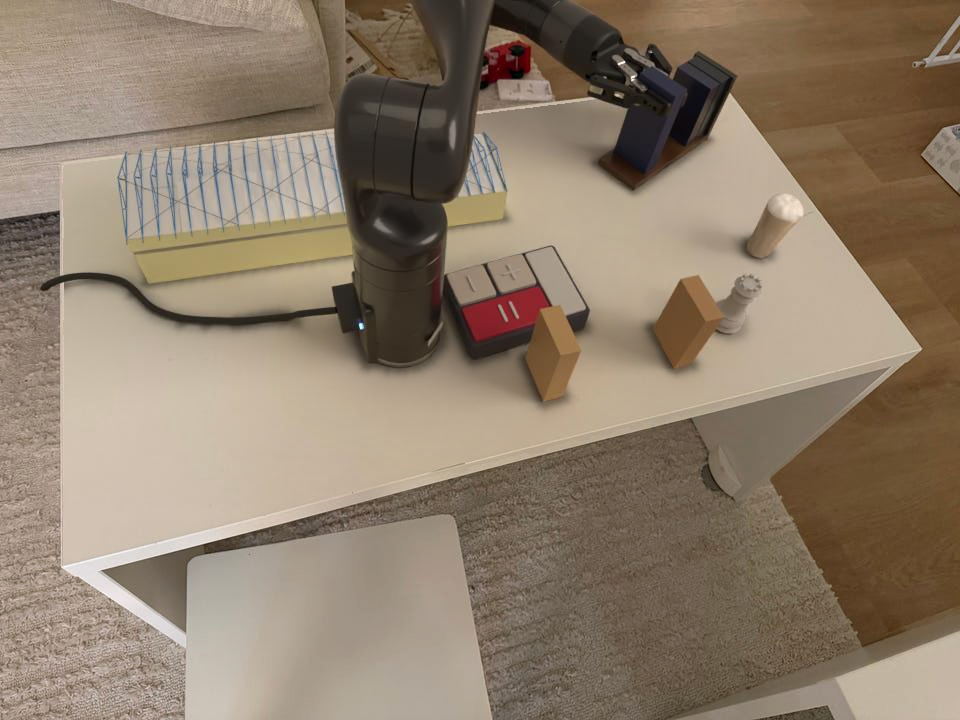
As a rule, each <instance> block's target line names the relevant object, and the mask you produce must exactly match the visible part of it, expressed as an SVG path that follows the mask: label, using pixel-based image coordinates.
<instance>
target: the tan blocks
mask: <svg viewBox="0 0 960 720" xmlns="http://www.w3.org/2000/svg"><path fill="white" fill-rule="evenodd" d="M723 318H724V316H723V314H722V312H721V311H720V309H719V308H718V306H717V304H716V301H715V299H714V298H713V296H712V294H711V293H710V291H709V289H708V288H707V286H706V285H705V283H704V281H703V280H702V278H701V276H700V274H697V275H693V276H692V275H691V276H687V277H683V278H680V279H679V281H678V282H677V284H676V286H675V287H674V289H673V292H672V293H671V295H670V297H669V298H668V301H667V302H666V304H665V306H664V308H663V309H662V311H661V313H660V315H659V317H658V318H657V320H656V322H655V324H654V325H653V327H652V331H653V333H654V335H655V337H656V338H657V340H658V342H659V343H660V346H661V348H662V350H663V351H664V353H665V356H666V357H667V359H668V361H669V363H670V364H671V367H672V368H673V369H674V370H675V369H678V368H682V367H687V366H691V365H692V364H693V362H694V361H695V359H696V358H697V357H698V355H699V354H700V352H701V351H702V349H704V347H705V345H707V342H708V341H709V339H710V338H711V336H712V335H713V334H714V332H715V331H716V328H717V327H718V325H719V324H720V322H721V321H722V319H723ZM528 344H529V345H528V348H527V352H526V355H525V357H524V358H525V361H526V364H527V366H528V369H529V371H530V374H531V376H532V379H533V380H534V383H535V385H536V388H537V390H538V393H539V396H540V397H541V400H542V402H547V401H551V400H556V399H559V398H562V397H563V396H564V394H565V391H566V389H567V387H568V383H569V381H570V379H571V376H572V374H573V372H574V369H575V368H576V365H577V363H578V360H579V358H580V355H581V352H582V349H581V346H580V344H579V342H578V340H577V338H576V336H575V334H574V332H573V331H572V329H571V327H570V325H569V323H568V320H567V318H566V316H565V314H564V312H563V310H562V308H561V305H557V306H552V307H548V308H543V309H540V310H539V313H538V317H537V320H536V324H535V327H534V331H533V334H532V338H531V341H530V343H528Z"/></svg>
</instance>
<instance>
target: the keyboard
mask: <svg viewBox="0 0 960 720" xmlns="http://www.w3.org/2000/svg"><path fill="white" fill-rule="evenodd" d="M297 135H298V136H289V137H286V136H284V137H280V138H272V137H270V138H269V139H258V138H256V140H251V141H250V140H249V141H244V140H242V142H241V141H240V142H232V143H231V142H230V140H228V141H227V143H219V144H216V142H215V141H214V142H213V144H212V145H202V144H201V143H199V146H193V147H187V145H186V144H184V147H183V148H182V147H181V148H173V149H172V146H170V147H169V149H164V150H163V149H162V150H158V149H157V148H155V149H154V150H152V151H144V152H142V151H143V150H142V149H140V150H139V152H133V153H131V152H129V153H128V151H127V150H125V153H124V156H123V159H122V161H121V165H120V168H119V171H118V175H117V177H116V179H117V184H118V191H119V199H120V208H121V215H122V221H123V228H124V237H125V241H126V246H128V247H129V249H130V251H131V253H133V257H134V259H135V260H136V262H137V264H138V266H139V268H140V270H141V272H142V274H143V275H144V277H145V279H146V281H147V283H148V284H157V283H165V282H170V281H177V280H185V279H192V278H199V277H206V276H212V275H219V274H220V275H221V274H226V273H233V272H240V271H247V270H248V271H249V270H253V269H254V270H255V269H260V268H261V269H262V268H269V267H274V266H281V265H290V264H296V263H305V262H310V261H317V260H324V259H331V258H339V257H345V256H353V252H352V243H351V235H350V232H349V230H348V226H347V219H346V212H345V206H344V200H343V194H342V189H341V184H340V179H339V174H338V168H337V161H336V154H335V140H334V132H327V130H325V133H319V134H313V132H311V133H310V134H307V135H302V134H301V135H300V133H297ZM488 140H489V141H488ZM491 144H492V145H491ZM492 146H493V148H492ZM494 151H495V152H496V159H497V161H496V159H495V156H494V153H493V152H494ZM124 167H125V168H124ZM503 171H504V170H503V167H502V163H501V158H500V154H499V151H498V146H496V144H495V143H494V142H493V141H492V140H491V139H490V137H489V136H488V135H487V134H486V132H485V131H483V132H477V133H474V137H473V144H472V151H471V157H470V162H469V167H468V171H467V174H466V178H465V181H464V183H463V186H462V188H461V191H460V192H459V194H458V196H457V197H456V198H455V199H454V200H453V201H451V202H449V203H445V204H442V205H443V207H444V209H445V211H446V215H447V220H448V228H449V227H454V226H462V225H469V224H478V223H483V222H484V223H485V222H493V221H498V220H503V218H504V213H505V209H506V208H505V207H506V203H507V197H508V188H507V183H506V179H505V175H504V172H503ZM122 172H123V174H122V177H123V176H124V178H122V177H121V173H122ZM121 181H124V182H125V185H124V186H125V187H124V188H125V191H124V192H125V197H124V194H123V193H124V192H123V190H122V185H121ZM123 206H124V207H123ZM124 211H125V214H124Z"/></svg>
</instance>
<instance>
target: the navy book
mask: <svg viewBox="0 0 960 720" xmlns="http://www.w3.org/2000/svg"><path fill="white" fill-rule="evenodd" d="M638 79H639V80H640V81H641V82H642V83H644V84H645V85H646V86H647V90H649V89H650V88H651V89H652V90H654V91H655V92H657V93H658V94H660V95H661V96H662V97H664V98H665V99H667V100H668V101H670V102H671V104H672V106H671V109H670V111H669V114H668V115H667V116H666V117H665V118H661V117H659V116H657V115H655V114H653V113H652V112H650V111H649V110H647V109H646V108H645V107H643V106H642V105H641V106H636V105H634V104H632V105H630V107H629V108H627V111H626V113H625V116H624V119H623V121H622V125H621V127H620V131H619V134H618V136H617V140H616V143H615V146H614V148H615V149H614V148H613V149H614V152H615V153H616V154H618V155H619V156H621V157H622V158H623V159H625V160H626V161H627V162H629V163H630V164H631V165H633V166H634V167H635V168H637V169H638V170H640V171H641V172H642V173H644V174H645V173H647V172H648V171H650V170H651V169H653V168H654V167H655V166H656V164H657V162H658V159H659V157H660V154H661V152H662V150H663V147H664V145H665V142H666V140H667V138H668V135H669V133H670V130H671V128H672V125H673V123H674V121H675V118H676V116H677V113H678V111H679V109H680V106H681V104H682V101H683V99H684V97H685V94H686V92H687V89H686V88H685V87H683V86H682V85H680V84H679V83H677V82H676V81H674V80H673V78H671V77H670V76H669V77H668V76H667V75H665V74H664V73H662V72H661V71H659V70H658V69H656V68H655V67H653V66H651V67H649V68H648V69H646V70H643V71H642V72H641V73H640V74H639V77H638Z"/></svg>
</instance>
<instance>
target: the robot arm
mask: <svg viewBox="0 0 960 720" xmlns="http://www.w3.org/2000/svg"><path fill="white" fill-rule="evenodd" d="M409 2H410V4H411V6H412V9H413V10H414V12H415V14H416V16H417V18H418V20H419V21H420V23H421V26H422V27H423V30H424V31H425V33H426V35H427V36H428V39H429V41H430V43H431V45H432V48H433V51H434V53H435V57H436V60H437V63H438V67H439V70H440V74H441V81H442V82H440V83H439V84H433V83H428V82H423V81H418V80H411V79H405V78H399V77H393V76H387V75H382V74H376V73H368V72H365V73H364V72H362V73H361V72H360V73H356V74H354V75H352V76H351V77H350V78H349V79H348V80H347V81H346V82H345V83H344V85H343V87H342V89H341V91H340V94H339V96H338V98H337V103H336V107H335V113H334V121H333V122H334V123H333V133H334V140H335V154H336V161H337V168H338V174H339V179H340V184H341V189H342V194H343V200H344V206H345V212H346V219H347V226H348V230H349V232H350V235H351V243H352V252H353V255H352V261H353V270H352V271H351V275H350V276H351V282H348V283H342V284H336V285H333V286H331V292H332V299H333V302H334V303H333V304H334V306H328V307H327V306H326V307H318V308H317V307H316V308H309V309H301V310H295V311H293V312H292V311H291V312H286V313H275V314H267V315H258V316H257V315H256V316H255V315H254V316H241V317H240V316H239V317H237V316H236V317H232V316H231V317H229V316H228V317H224V316H203V315H199V316H198V315H190V314H189V315H188V314H182V313H177V312H174V311H170V310H167V309H164V308H162V307H160V306H157V305H156V304H154V303H153V302H151V301H150V300H149V299H148V298H147V297H146V296H145V295H144V293H142V291H141V290H139V288H138V287H137V286H135V284H133V283H132V282H131V281H130V280H128V279H126V278H124V277H122V276H118V275H115V274H111V273H104V272H90V271H89V272H87V271H86V272H85V271H83V272H73V273H67V274H62V275H58V276H55V277H53V278H50V279H49V280H47V281H45V282H44V283H43V284H42V285H41V286H40V287H39V291H41V292H47V291H49V290H51V288H53V287H54V286H57V285H60V284H62V283H66V282H73V281H80V280H82V281H83V280H94V281H95V280H97V281H106V282H110V283H111V282H112V283H116V284H118V285H121V286H123V287H124V288H126V289H127V290H128V291H129V292H131V294H132V295H133V296H134V297H135V298H136V299H137V300H138V301H139V302H140V303H141V304H142V305H143V306H144V307H145V308H146V309H148V310H149V311H151V312H152V313H154V314H155V315H158V316H161V317H163V318H166V319H170V320H174V321H177V322H182V323H190V324H203V325H253V324H254V325H255V324H264V323H271V322H282V321H290V320H295V319H300V318H308V317H318V316H328V315H329V316H330V315H337V318H338V321H339V326H340V330H341V333H342V334H347V333H352V332H357V331H358V332H359V339H360V343H361V345H362V347H363V351H364V354H365V358H366V362H367V363H368V364H373V363H379V364H382V365H385V366H386V367H387V366H388V367H393V368H408V367H413V366H416V365H418V364H421V363H423V362H425V361H426V360H427V359H429V358H430V357H431V356H432V355H433V354H435V351H436V350H437V349H438V346H439V344H440V340H441V332H442V331H441V329H442V328H443V325H444V321H443V320H442V308H443V307H442V306H443V297H444V295H443V283H444V275H445V267H446V255H447V245H448V244H447V243H448V232H449V231H448V229H449V227H448V220H447V215H446V211H445V209H444V207H443V205H442V204H445V203H449V202H451V201H453V200H454V199H455V198H456V197H457V196H458V194H459V192H460V191H461V188H462V186H463V183H464V181H465V178H466V174H467V171H468V167H469V162H470V157H471V151H472V144H473V137H474V134H475V129H476V122H477V112H478V106H479V105H478V104H479V99H480V89H481V81H482V73H483V67H484V66H483V65H484V58H485V51H486V46H487V39H488V34H489V31H490V26H491V27H494V28H497V29H501V30H506V31H509V32H512V33H516V34H519V35H522V36H524V37H525V38H527V39H529V40H530V41H531V42H533V43H534V44H535V45H537V46H538V47H540V48H541V49H543V50H544V51H545V52H546V53H547V54H548V55H549V56H550V57H551V58H553V59H554V60H555V61H556V62H558V63H560V65H563V67H565V68H566V69H568V70H570V72H572V73H574V74H575V75H577V76H578V77H580V79H582V80H584V81H585V82H587V83H588V88H587V92H586V94H587V96H588V97H590V98H594V99H596V100H598V101H602V102H605V103H608V104H611V105H614V106H616V107H620V108H623V109H627V110H628V108H629V107H630V105H632V104H634V105H636V106H641V105H642V106H643V107H645V108H646V109H647V110H649V111H650V112H652V113H653V114H655V115H657V116H659V117H661V118H665V117H666V116H667V115H668V114H669V111H670V109H671V106H672V104H671V102H670V101H668V100H667V99H665V98H664V97H662V96H661V95H660V94H658V93H657V92H655V91H654V90H652V89H651V88H650V89H649V90H647V86H646V85H645V84H644V83H642V82H641V81H640V80H639V79H638V77H639V74H640V73H641V72H642V71H644V70H646V69H648V68H649V67H651V66H653V67H655V68H656V69H658V70H659V71H661V72H662V73H664V74H665V75H667V76H668V77H670V76H671V73H672V71H673V66H672V65H671V64H670V62H669V61H668V60H667V58H666V57H665V56H664V54H663V53H662V51H661V50H660V49H659V47H658V46H657V45H656V44H654V43H649V44H647V48H646V49H641V50H638V48H637V47H635V46H632V45H629V44H626V43H625V42H624V39H623V36H622V32H621V31H620V30H619V29H618V28H617V27H615V26H614V25H612V24H610V23H609V22H607V21H606V20H604V19H603V18H601V17H600V16H598V15H596V14H595V13H594V12H592V11H590V10H589V9H588V8H586V7H584V6H582V5H580V4H578V3H576V2H573V1H571V0H409ZM615 93H617V94H618V95H619V96H617V95H615ZM687 96H688V94H687V92H686V94H685V97H684V99H683V101H682V104H681V106H680V107H682V106H683V105H684V103H685V101H686V99H687ZM441 320H442V321H441Z"/></svg>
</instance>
